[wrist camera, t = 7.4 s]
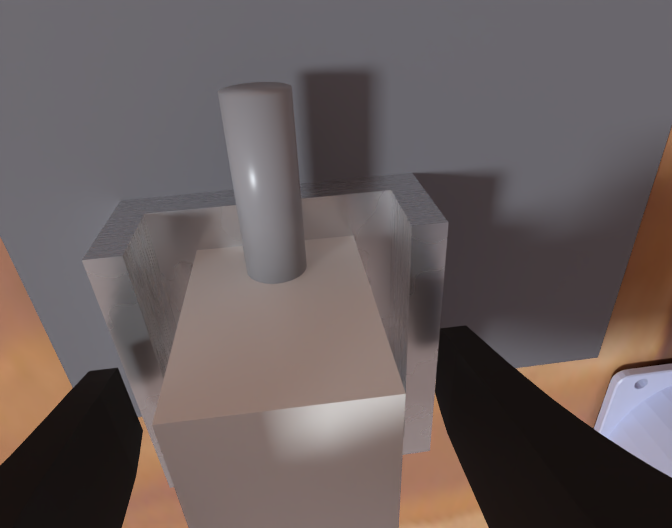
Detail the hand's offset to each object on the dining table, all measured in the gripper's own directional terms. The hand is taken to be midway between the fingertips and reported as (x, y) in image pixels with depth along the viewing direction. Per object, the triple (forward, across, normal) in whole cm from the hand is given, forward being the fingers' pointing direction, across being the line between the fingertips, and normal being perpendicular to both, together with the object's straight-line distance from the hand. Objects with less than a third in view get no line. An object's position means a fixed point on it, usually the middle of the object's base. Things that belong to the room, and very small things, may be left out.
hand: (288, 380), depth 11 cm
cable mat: (+4, -2, -3) cm, 5 cm away
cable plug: (+3, 0, -2) cm, 4 cm away
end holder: (+4, 0, +1) cm, 4 cm away
